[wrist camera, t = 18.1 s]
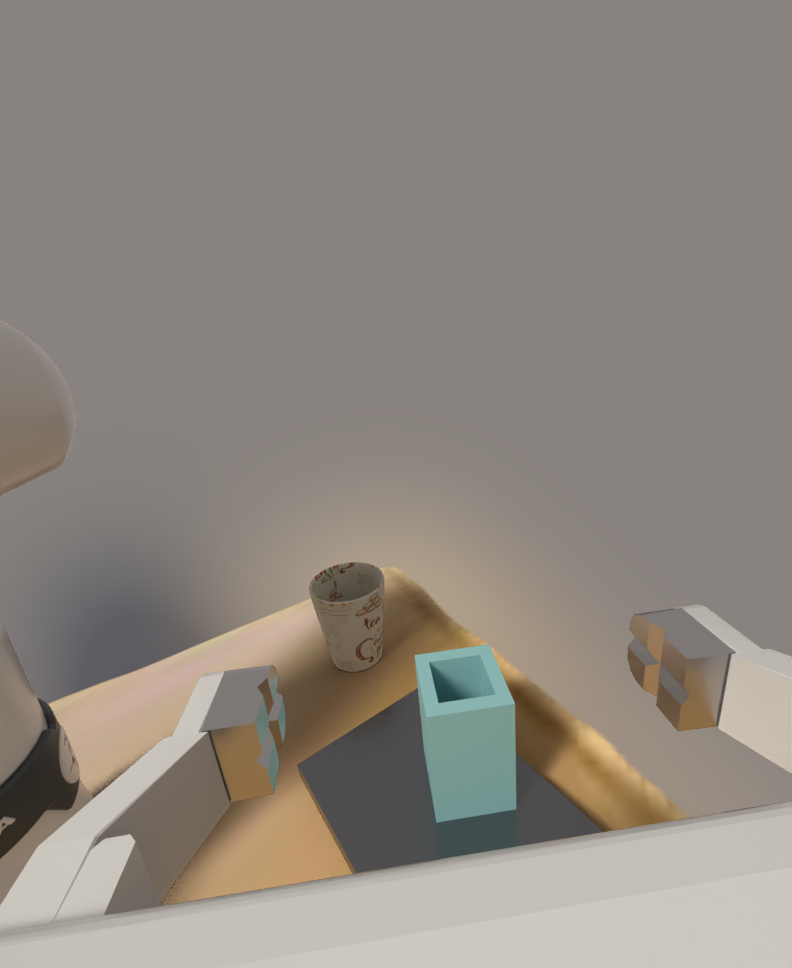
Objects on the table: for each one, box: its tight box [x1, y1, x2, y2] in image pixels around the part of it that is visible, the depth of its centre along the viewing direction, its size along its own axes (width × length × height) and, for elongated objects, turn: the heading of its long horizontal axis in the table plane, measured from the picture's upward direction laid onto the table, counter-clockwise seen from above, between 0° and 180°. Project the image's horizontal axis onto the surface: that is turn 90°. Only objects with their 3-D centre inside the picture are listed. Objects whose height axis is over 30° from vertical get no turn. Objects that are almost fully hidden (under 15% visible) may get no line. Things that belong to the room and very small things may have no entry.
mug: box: [309, 562, 384, 672], centre depth 52 cm, size 8×13×10 cm, turn 38°
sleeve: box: [414, 645, 516, 823], centre depth 33 cm, size 6×6×10 cm
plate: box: [298, 688, 604, 874], centre depth 33 cm, size 15×20×6 cm
